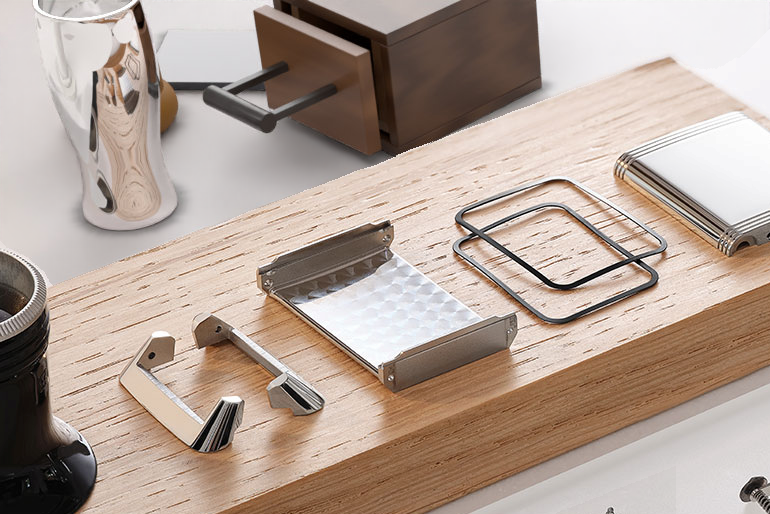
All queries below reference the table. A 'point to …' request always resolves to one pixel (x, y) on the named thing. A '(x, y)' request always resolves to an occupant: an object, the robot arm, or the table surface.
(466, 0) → the cabinet
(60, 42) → the beer glass
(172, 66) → the coaster
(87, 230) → the table surface
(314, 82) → the drawer
